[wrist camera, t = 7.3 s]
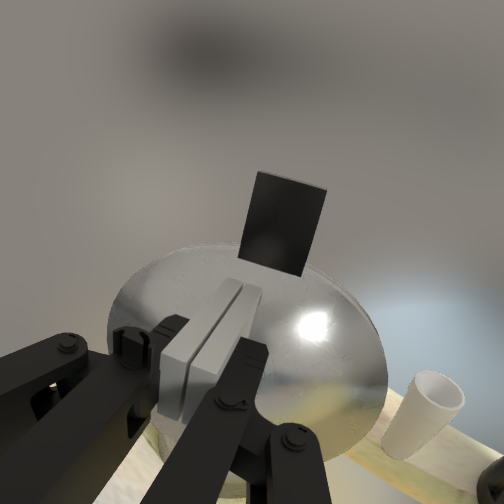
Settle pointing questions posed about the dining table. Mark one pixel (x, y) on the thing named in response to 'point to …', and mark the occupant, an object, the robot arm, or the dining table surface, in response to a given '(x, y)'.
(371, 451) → the dining table surface
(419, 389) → the foam cup
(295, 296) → the cooker lid
